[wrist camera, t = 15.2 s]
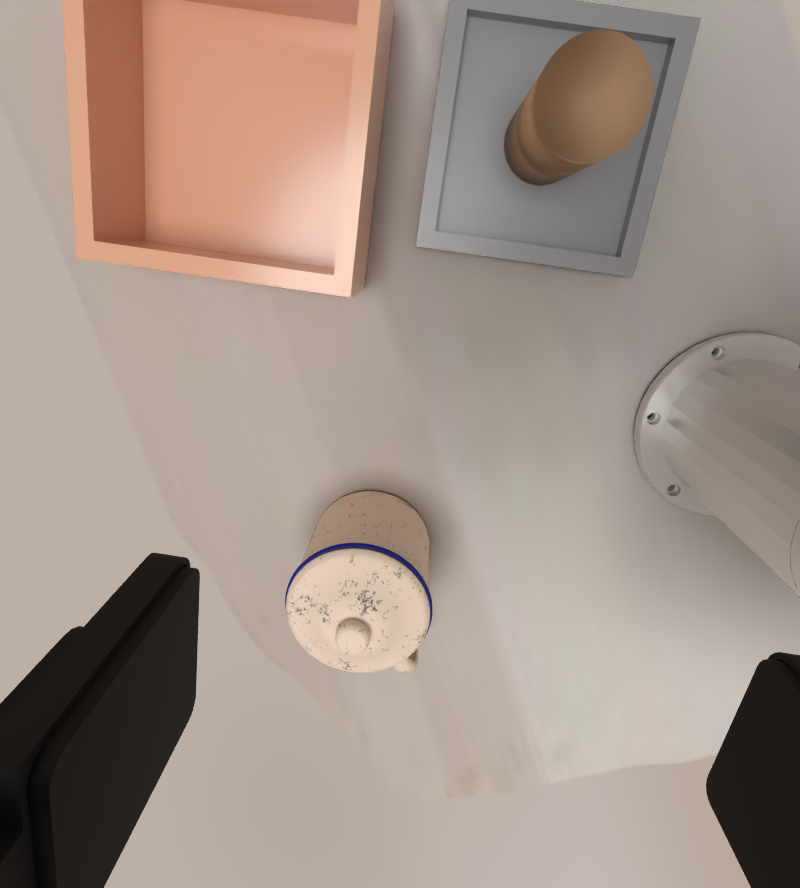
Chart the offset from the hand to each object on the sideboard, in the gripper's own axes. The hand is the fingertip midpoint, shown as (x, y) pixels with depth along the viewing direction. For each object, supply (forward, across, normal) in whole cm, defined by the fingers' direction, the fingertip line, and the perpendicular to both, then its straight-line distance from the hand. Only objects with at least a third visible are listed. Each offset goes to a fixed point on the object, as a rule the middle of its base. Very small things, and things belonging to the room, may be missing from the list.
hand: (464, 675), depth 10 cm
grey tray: (+30, -4, -13) cm, 33 cm away
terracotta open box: (+30, +13, -10) cm, 35 cm away
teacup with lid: (+31, +2, +16) cm, 35 cm away
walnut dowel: (+29, -4, -13) cm, 32 cm away
